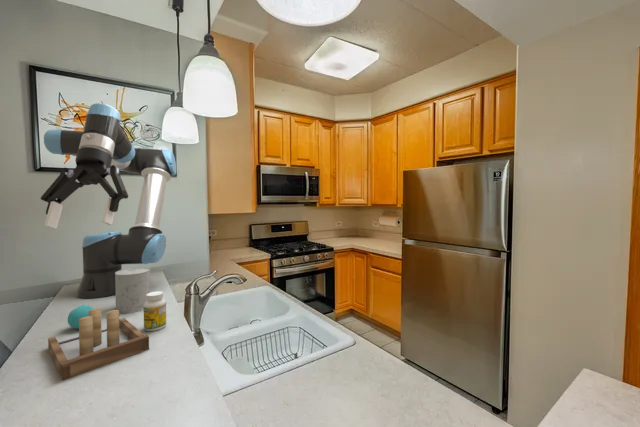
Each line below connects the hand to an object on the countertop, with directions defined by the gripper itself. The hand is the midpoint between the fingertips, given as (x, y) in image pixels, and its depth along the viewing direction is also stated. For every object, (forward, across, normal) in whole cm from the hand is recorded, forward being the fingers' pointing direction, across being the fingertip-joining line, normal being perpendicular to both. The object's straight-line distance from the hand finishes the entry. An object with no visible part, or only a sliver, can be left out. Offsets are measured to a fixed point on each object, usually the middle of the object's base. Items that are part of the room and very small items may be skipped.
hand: (78, 225), depth 69 cm
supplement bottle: (+26, +13, +17) cm, 33 cm away
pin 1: (+30, +5, +4) cm, 31 cm away
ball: (+21, -6, +15) cm, 27 cm away
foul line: (+26, -1, +12) cm, 29 cm away
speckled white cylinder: (+19, -2, +30) cm, 36 cm away
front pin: (+28, +4, +8) cm, 30 cm away
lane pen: (+29, +6, +6) cm, 31 cm away
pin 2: (+29, +9, +7) cm, 31 cm away
